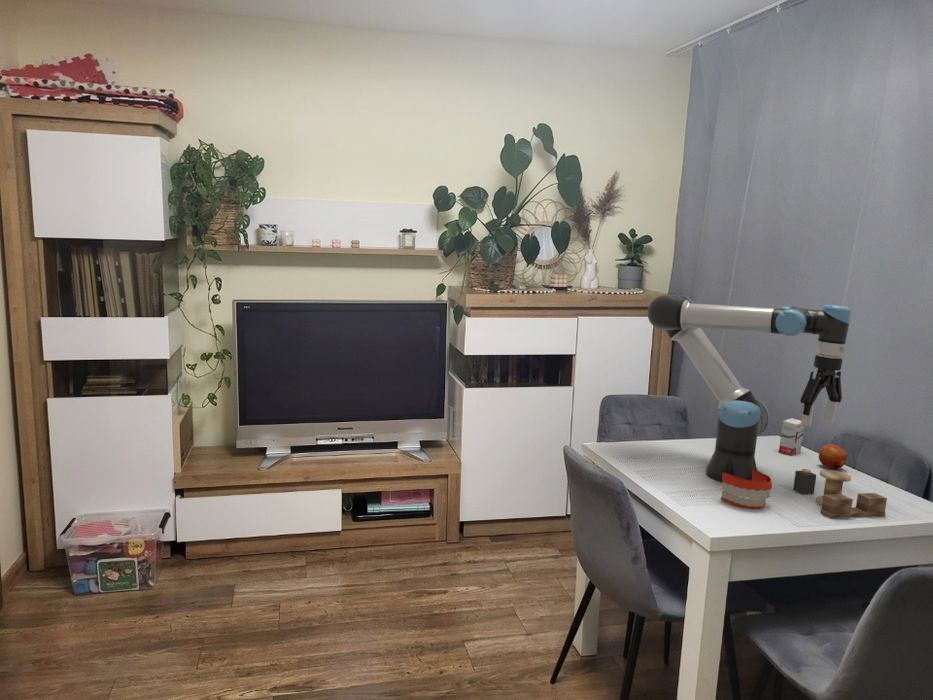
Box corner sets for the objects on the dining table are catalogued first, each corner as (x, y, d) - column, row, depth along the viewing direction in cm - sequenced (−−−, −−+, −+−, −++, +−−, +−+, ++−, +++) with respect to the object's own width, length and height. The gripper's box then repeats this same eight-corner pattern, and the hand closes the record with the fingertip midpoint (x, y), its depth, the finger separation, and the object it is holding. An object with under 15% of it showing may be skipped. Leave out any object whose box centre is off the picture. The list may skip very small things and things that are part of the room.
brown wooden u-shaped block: (830, 518, 192) (833, 499, 191) (820, 512, 196) (822, 494, 195) (884, 516, 197) (887, 498, 196) (873, 510, 200) (876, 493, 200)
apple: (831, 464, 246) (834, 441, 245) (850, 471, 238) (854, 448, 237) (812, 464, 244) (815, 441, 242) (831, 472, 236) (834, 449, 234)
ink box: (792, 456, 253) (796, 423, 251) (778, 452, 256) (782, 420, 254) (801, 452, 259) (805, 420, 257) (787, 449, 262) (791, 417, 260)
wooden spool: (829, 509, 199) (834, 479, 198) (809, 499, 207) (813, 470, 205) (853, 508, 201) (857, 478, 200) (832, 498, 209) (836, 469, 207)
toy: (745, 513, 192) (749, 484, 190) (717, 499, 201) (721, 472, 200) (779, 509, 197) (783, 481, 196) (750, 496, 206) (754, 469, 205)
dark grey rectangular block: (802, 494, 211) (805, 472, 210) (793, 489, 214) (796, 468, 213) (813, 494, 212) (816, 472, 211) (804, 489, 215) (807, 467, 214)
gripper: (820, 359, 206) (807, 430, 210) (861, 357, 221) (849, 423, 224) (795, 354, 212) (783, 423, 216) (837, 352, 227) (825, 417, 230)
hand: (817, 423), depth 220 cm, fingers open, 13 cm apart
